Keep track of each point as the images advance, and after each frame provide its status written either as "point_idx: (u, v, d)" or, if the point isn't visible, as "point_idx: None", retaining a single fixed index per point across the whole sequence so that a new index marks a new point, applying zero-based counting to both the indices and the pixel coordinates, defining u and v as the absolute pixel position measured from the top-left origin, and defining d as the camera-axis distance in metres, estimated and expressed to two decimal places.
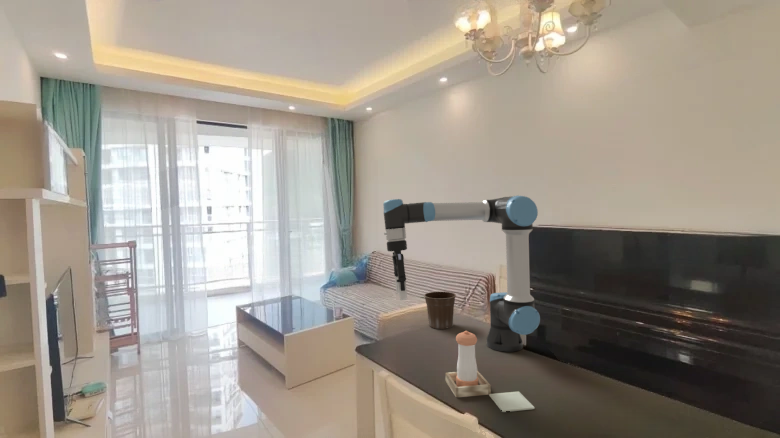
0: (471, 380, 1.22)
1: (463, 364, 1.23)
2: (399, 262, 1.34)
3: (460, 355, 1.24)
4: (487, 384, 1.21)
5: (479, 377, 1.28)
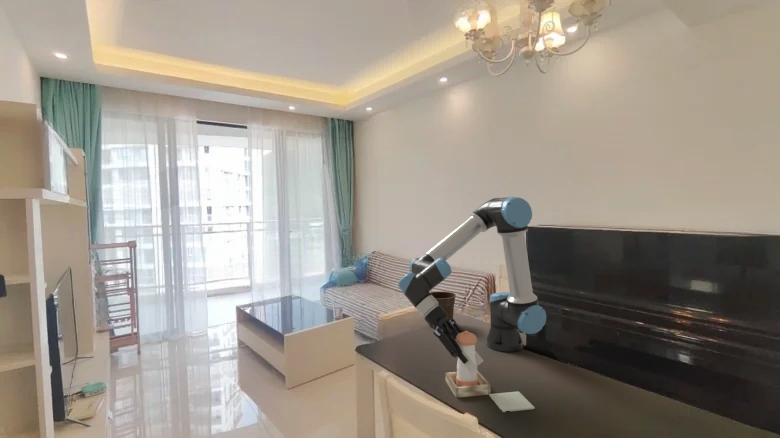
0: (471, 380, 1.22)
1: (463, 364, 1.23)
2: (441, 338, 1.23)
3: None
4: (487, 384, 1.21)
5: (479, 377, 1.28)
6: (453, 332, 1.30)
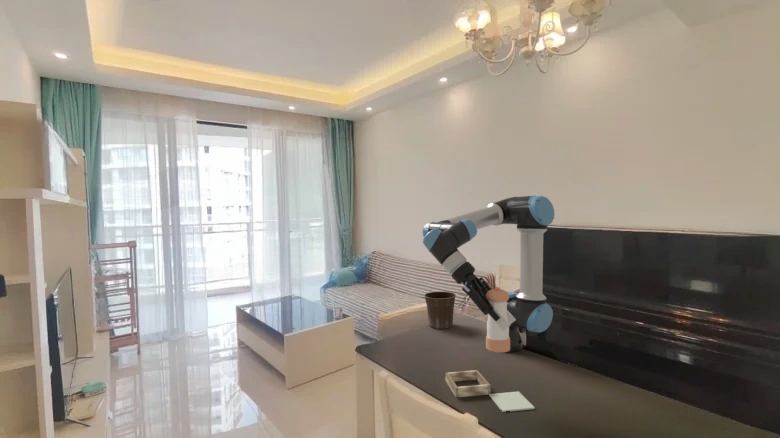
0: (503, 339, 1.14)
1: (494, 322, 1.14)
2: (471, 294, 1.15)
3: None
4: (487, 384, 1.21)
5: (479, 377, 1.28)
6: (482, 290, 1.21)
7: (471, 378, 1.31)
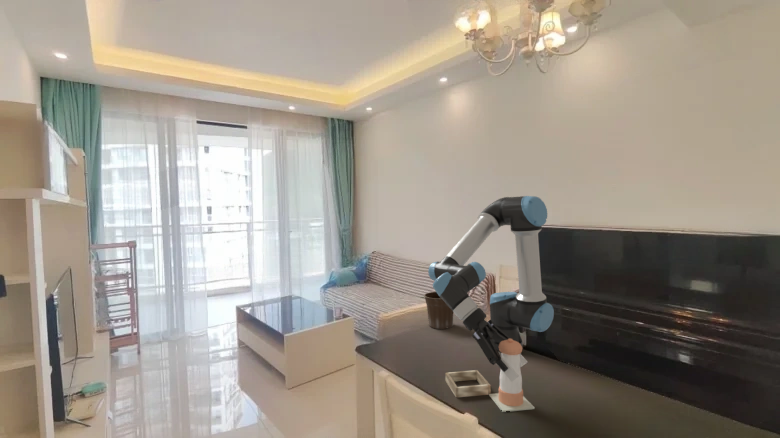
0: (516, 392, 1.13)
1: None
2: (480, 342, 1.13)
3: None
4: (487, 384, 1.21)
5: (479, 377, 1.28)
6: (494, 335, 1.21)
7: (471, 378, 1.31)
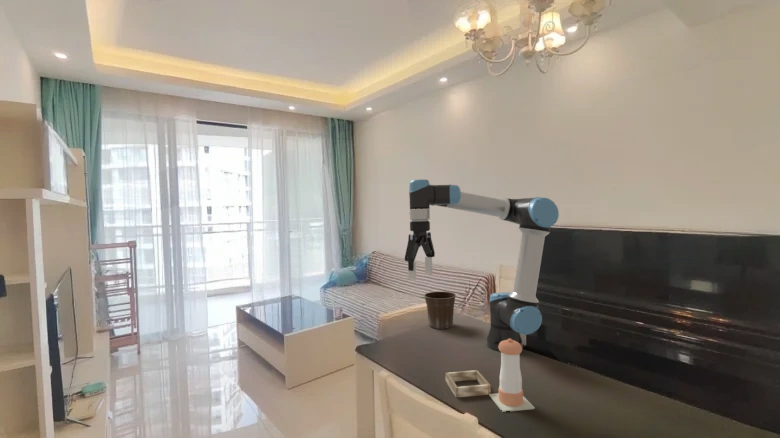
0: (516, 392, 1.13)
1: (507, 375, 1.13)
2: (410, 242, 1.36)
3: (504, 365, 1.14)
4: (487, 384, 1.21)
5: (479, 377, 1.28)
6: (424, 245, 1.44)
7: (471, 378, 1.31)
